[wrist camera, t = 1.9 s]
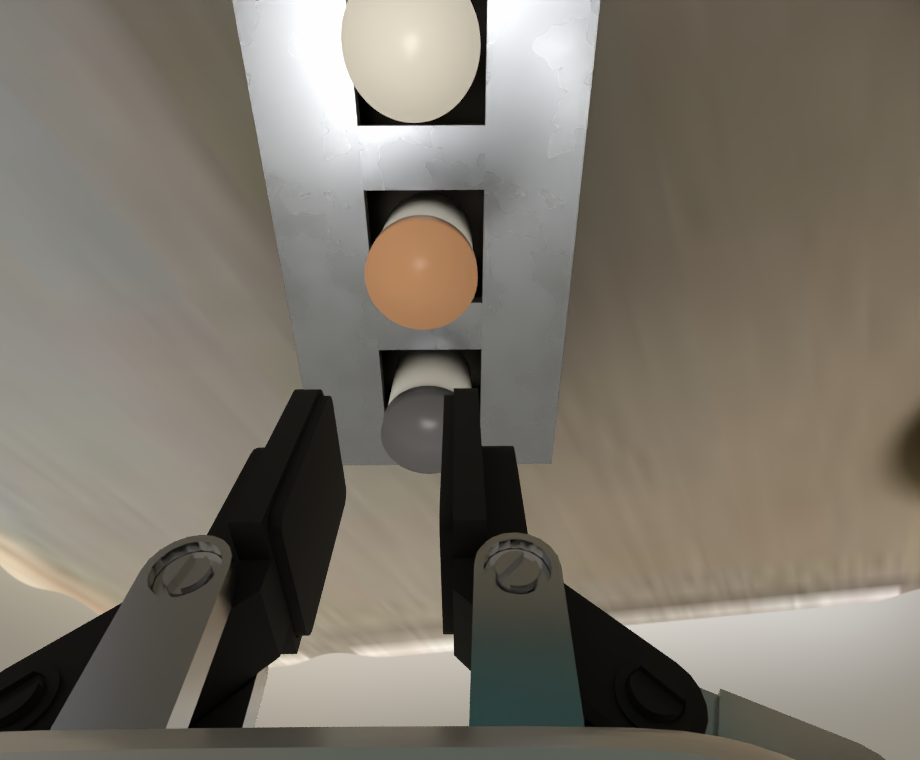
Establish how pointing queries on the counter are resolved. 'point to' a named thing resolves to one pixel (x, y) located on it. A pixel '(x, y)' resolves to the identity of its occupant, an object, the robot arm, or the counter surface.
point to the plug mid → (423, 263)
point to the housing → (426, 168)
